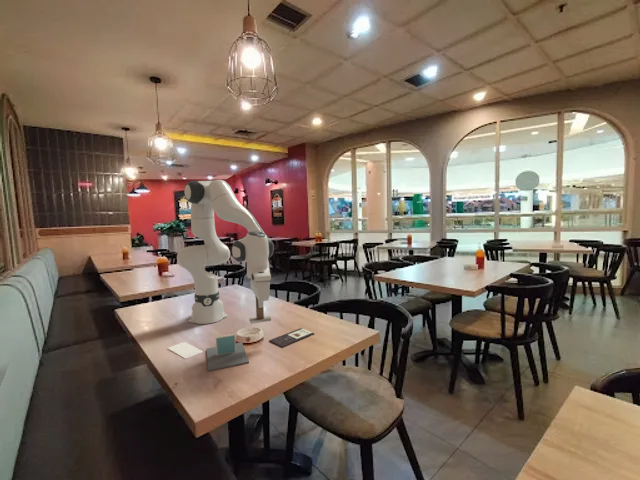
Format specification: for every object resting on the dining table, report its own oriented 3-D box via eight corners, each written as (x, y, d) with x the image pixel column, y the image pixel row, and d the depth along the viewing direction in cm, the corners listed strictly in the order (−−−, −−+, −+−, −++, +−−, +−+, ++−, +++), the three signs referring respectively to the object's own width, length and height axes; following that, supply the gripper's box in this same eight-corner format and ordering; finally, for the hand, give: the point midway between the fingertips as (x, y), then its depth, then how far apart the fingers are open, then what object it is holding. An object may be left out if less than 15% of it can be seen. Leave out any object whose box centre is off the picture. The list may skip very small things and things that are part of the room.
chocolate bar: (269, 340, 128) (300, 328, 141) (269, 342, 128) (300, 330, 141) (282, 346, 122) (314, 333, 134) (282, 349, 122) (314, 335, 134)
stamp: (249, 320, 123) (248, 296, 122) (268, 317, 126) (268, 294, 125) (251, 323, 119) (250, 299, 118) (271, 320, 122) (270, 296, 121)
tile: (216, 353, 116) (215, 336, 116) (235, 350, 119) (234, 333, 118) (216, 355, 115) (215, 338, 114) (235, 352, 117) (234, 334, 117)
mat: (206, 349, 121) (206, 348, 121) (242, 343, 127) (242, 342, 127) (208, 371, 105) (208, 369, 105) (248, 362, 110) (248, 361, 110)
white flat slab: (185, 358, 114) (167, 347, 123) (185, 360, 114) (167, 349, 123) (203, 351, 120) (184, 341, 129) (203, 353, 120) (184, 343, 129)
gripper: (246, 268, 129) (247, 299, 130) (255, 278, 110) (256, 315, 111) (261, 267, 131) (262, 297, 133) (272, 276, 112) (273, 312, 114)
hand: (259, 305), depth 122 cm, fingers closed on stamp, 2 cm apart
